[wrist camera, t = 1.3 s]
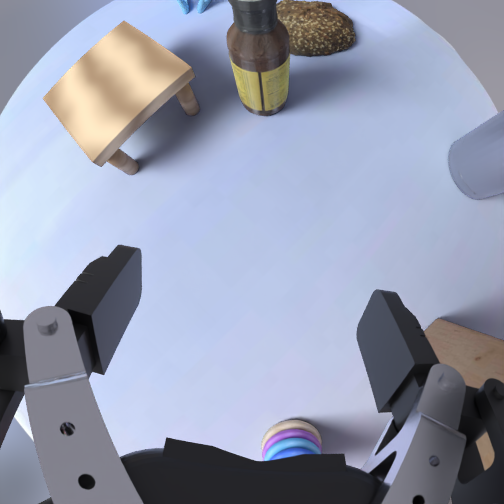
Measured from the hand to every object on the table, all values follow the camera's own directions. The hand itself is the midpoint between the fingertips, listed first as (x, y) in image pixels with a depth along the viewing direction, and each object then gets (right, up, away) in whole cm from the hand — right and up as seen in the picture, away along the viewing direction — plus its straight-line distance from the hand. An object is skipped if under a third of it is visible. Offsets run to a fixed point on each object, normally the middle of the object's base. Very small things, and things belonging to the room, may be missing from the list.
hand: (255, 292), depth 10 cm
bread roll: (+9, +35, +27) cm, 45 cm away
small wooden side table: (-16, +20, +28) cm, 38 cm away
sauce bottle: (+1, +21, +27) cm, 35 cm away
